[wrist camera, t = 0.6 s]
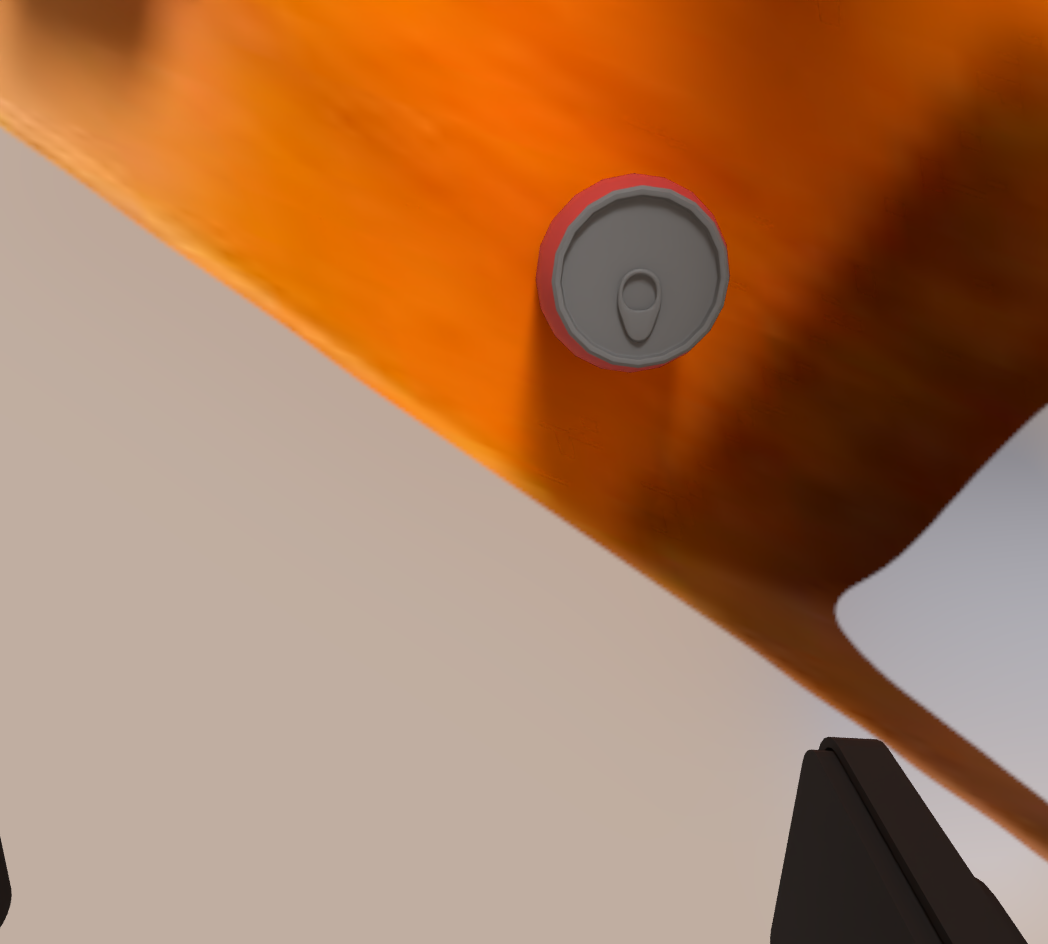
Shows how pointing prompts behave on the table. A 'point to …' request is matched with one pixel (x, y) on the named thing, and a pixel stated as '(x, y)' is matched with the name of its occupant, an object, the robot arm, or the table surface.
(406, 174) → the table surface
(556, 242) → the beer can
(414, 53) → the table surface
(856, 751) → the robot arm
